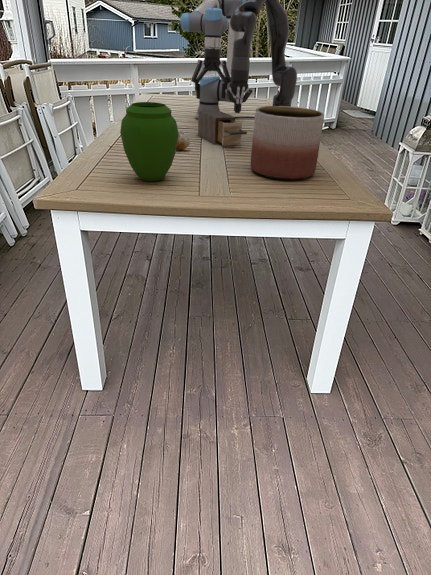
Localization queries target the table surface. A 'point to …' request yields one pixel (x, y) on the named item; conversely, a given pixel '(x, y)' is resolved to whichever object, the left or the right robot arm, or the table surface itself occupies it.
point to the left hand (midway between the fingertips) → (210, 98)
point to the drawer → (229, 132)
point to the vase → (149, 139)
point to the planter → (286, 142)
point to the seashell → (182, 141)
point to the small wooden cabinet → (211, 124)
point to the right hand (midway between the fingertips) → (237, 112)
